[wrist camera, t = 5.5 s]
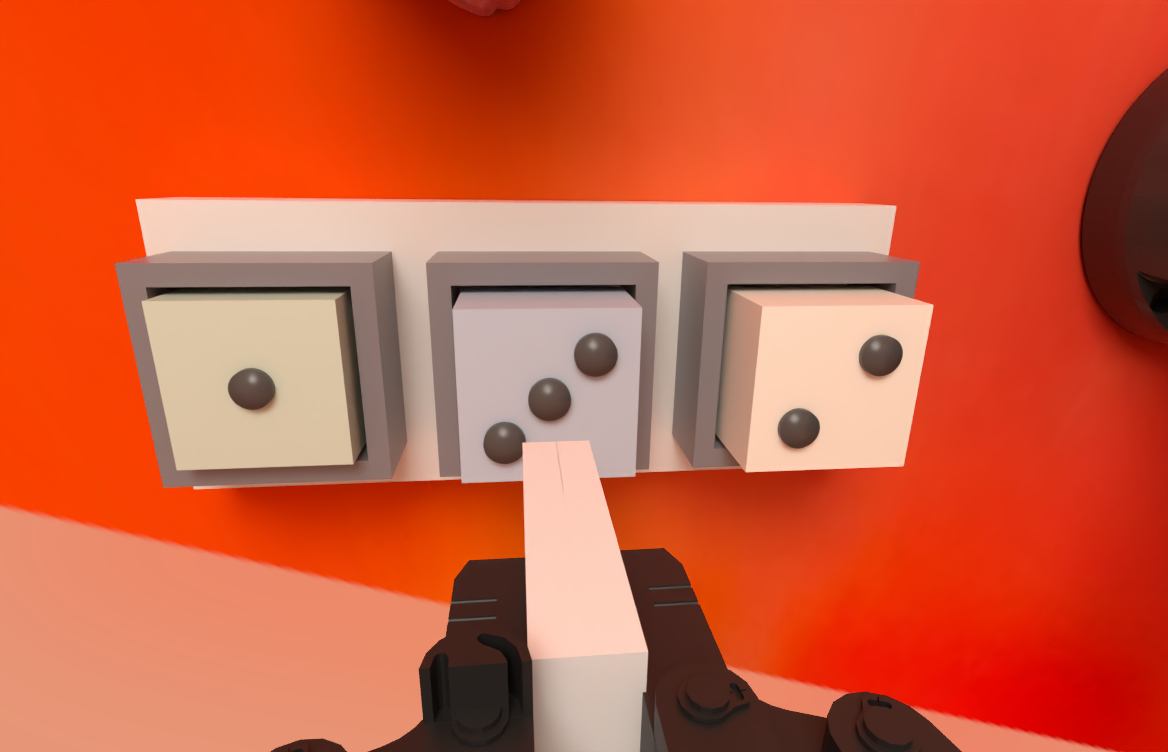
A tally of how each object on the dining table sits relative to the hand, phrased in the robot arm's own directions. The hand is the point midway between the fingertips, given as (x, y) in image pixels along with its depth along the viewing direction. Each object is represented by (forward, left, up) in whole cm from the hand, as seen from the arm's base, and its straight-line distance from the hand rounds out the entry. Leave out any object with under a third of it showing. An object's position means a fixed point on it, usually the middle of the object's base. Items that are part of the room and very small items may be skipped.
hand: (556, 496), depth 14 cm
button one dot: (+10, 0, -12) cm, 16 cm away
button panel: (0, 0, -16) cm, 16 cm away
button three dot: (0, 0, -11) cm, 11 cm away
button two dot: (-10, 0, -11) cm, 15 cm away
